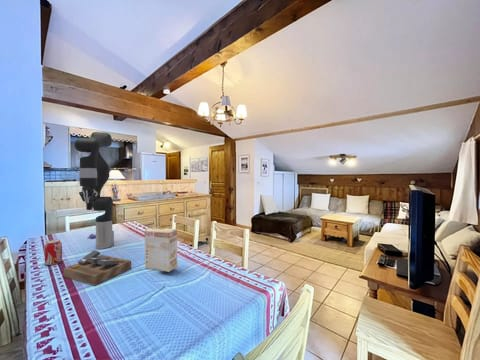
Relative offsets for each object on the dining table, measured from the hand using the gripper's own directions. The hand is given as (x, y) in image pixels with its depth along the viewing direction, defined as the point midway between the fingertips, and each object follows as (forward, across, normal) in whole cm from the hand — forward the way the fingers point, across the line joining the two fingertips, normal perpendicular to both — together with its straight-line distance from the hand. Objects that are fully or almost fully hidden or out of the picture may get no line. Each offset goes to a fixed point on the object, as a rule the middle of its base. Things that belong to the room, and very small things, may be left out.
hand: (89, 209), depth 110 cm
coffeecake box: (+29, -38, -10) cm, 49 cm away
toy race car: (+31, +43, -34) cm, 63 cm away
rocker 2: (+23, -14, +5) cm, 27 cm away
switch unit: (+29, -14, +5) cm, 32 cm away
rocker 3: (+23, -20, +5) cm, 31 cm away
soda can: (+30, +20, +6) cm, 36 cm away
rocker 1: (+23, -6, +5) cm, 24 cm away
